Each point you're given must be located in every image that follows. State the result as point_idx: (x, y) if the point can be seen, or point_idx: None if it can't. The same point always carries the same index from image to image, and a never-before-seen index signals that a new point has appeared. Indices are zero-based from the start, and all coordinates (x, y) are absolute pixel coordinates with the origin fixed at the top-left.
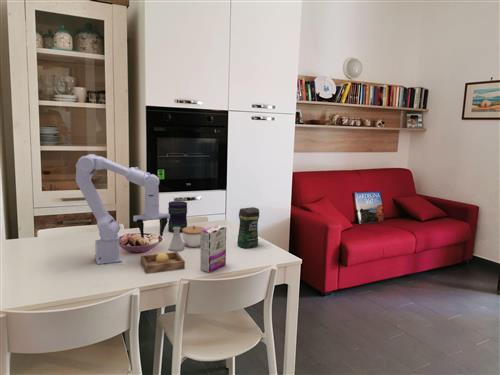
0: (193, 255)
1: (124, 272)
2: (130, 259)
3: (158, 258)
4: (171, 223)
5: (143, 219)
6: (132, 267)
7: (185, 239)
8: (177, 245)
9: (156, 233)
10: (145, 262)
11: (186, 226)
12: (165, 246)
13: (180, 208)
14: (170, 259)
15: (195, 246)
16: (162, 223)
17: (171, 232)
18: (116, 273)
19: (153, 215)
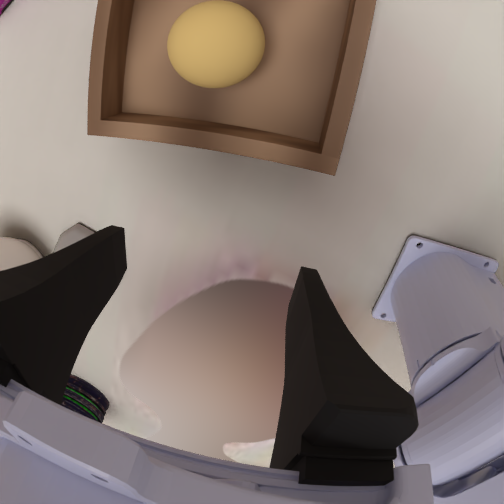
0: (37, 140)
1: (466, 79)
2: (354, 241)
3: (253, 19)
4: (88, 417)
5: (277, 481)
6: (403, 118)
7: None
8: None
9: (146, 410)
10: (361, 29)
11: None
12: (130, 309)
13: None
14: (147, 114)
15: (22, 241)
16: (13, 293)
17: (100, 392)
18: (498, 96)
19: (59, 496)
